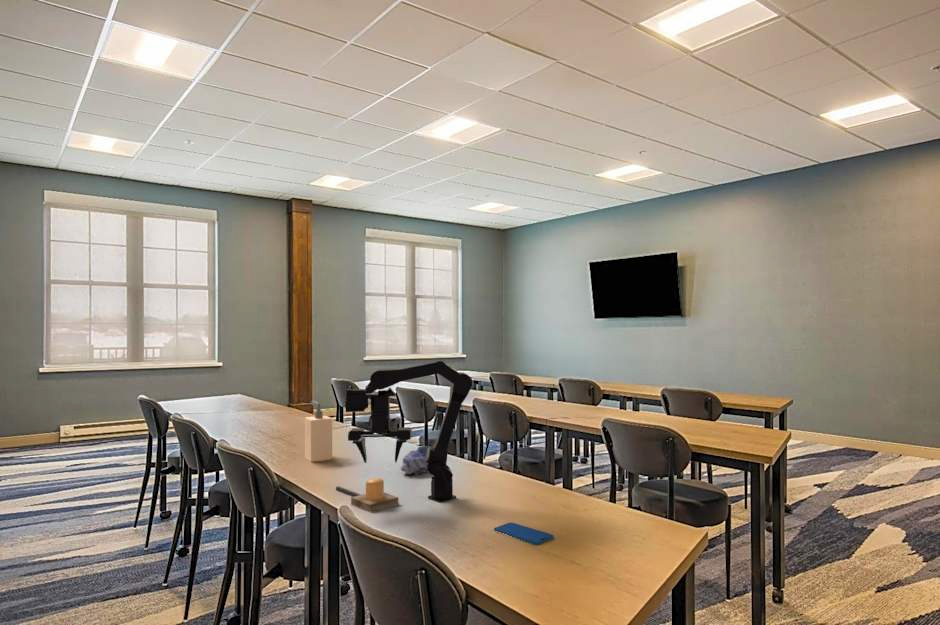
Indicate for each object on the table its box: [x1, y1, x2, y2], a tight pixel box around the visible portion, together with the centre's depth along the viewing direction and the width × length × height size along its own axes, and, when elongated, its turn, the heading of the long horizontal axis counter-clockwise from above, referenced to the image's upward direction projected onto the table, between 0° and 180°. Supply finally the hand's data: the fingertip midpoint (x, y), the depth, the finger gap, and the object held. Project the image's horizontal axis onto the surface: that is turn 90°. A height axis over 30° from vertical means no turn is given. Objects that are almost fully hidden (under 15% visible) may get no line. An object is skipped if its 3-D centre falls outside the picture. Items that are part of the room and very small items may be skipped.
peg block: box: [350, 492, 399, 512], centre depth 173 cm, size 10×10×6 cm
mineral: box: [400, 445, 429, 475], centre depth 210 cm, size 14×10×10 cm
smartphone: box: [493, 522, 554, 546], centre depth 148 cm, size 7×1×15 cm
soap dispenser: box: [304, 400, 333, 463], centre depth 233 cm, size 13×9×22 cm
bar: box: [335, 485, 362, 497], centre depth 182 cm, size 16×1×1 cm, turn 44°
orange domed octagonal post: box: [365, 477, 385, 500], centre depth 173 cm, size 5×5×5 cm
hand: (380, 462), depth 175 cm, fingers open, 9 cm apart
